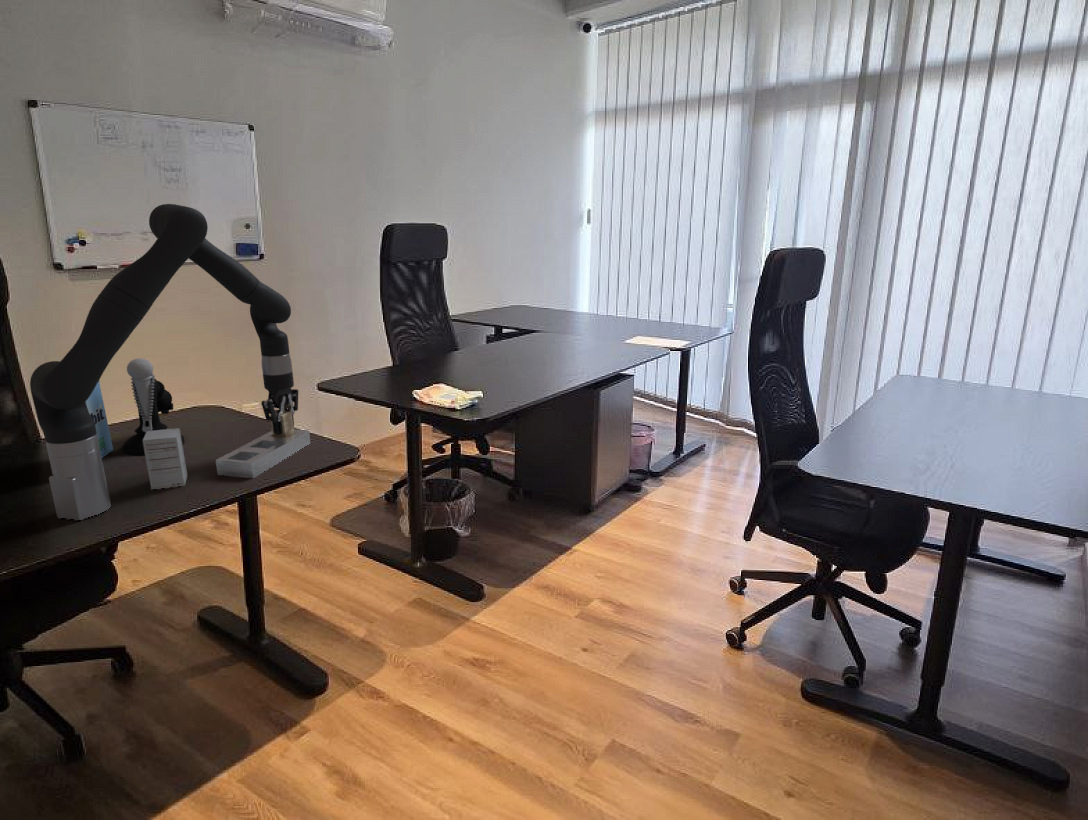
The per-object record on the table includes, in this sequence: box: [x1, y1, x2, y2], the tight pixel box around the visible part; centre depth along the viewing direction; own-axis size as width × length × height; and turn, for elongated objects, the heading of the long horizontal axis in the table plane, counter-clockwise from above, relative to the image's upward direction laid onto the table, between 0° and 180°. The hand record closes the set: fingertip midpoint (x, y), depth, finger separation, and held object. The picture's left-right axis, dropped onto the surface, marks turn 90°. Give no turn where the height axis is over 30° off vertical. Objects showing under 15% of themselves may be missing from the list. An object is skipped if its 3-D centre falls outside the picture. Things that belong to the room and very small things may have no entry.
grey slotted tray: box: [215, 429, 311, 479], centre depth 185 cm, size 26×10×4 cm, turn 167°
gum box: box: [86, 380, 114, 459], centre depth 180 cm, size 20×5×23 cm, turn 8°
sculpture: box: [121, 358, 185, 456], centre depth 196 cm, size 15×24×25 cm, turn 15°
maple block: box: [269, 411, 295, 438], centre depth 192 cm, size 4×4×10 cm
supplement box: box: [142, 427, 188, 491], centre depth 168 cm, size 7×7×13 cm
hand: (284, 430), depth 193 cm, fingers open, 5 cm apart
